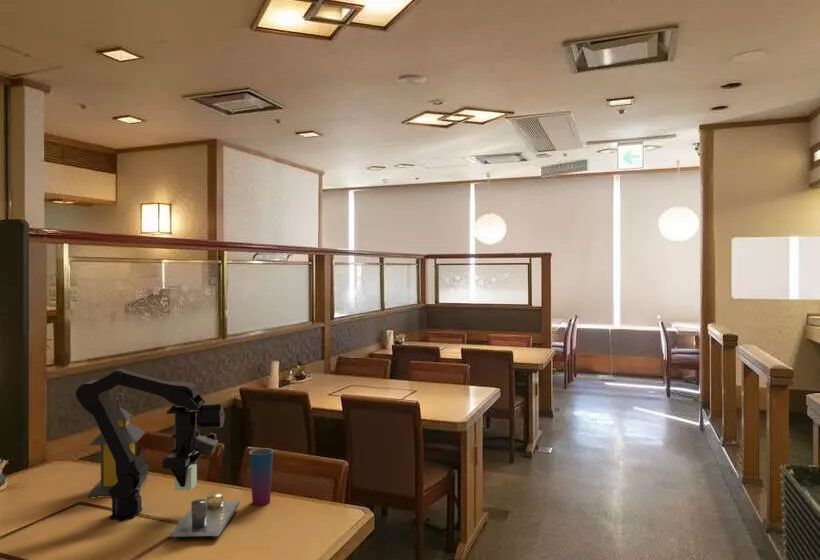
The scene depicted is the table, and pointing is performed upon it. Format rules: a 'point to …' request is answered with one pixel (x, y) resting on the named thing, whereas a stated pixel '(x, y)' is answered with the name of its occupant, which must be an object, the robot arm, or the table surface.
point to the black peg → (199, 513)
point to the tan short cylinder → (215, 500)
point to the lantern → (107, 460)
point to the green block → (188, 479)
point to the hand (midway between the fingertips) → (185, 483)
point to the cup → (261, 475)
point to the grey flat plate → (214, 521)
